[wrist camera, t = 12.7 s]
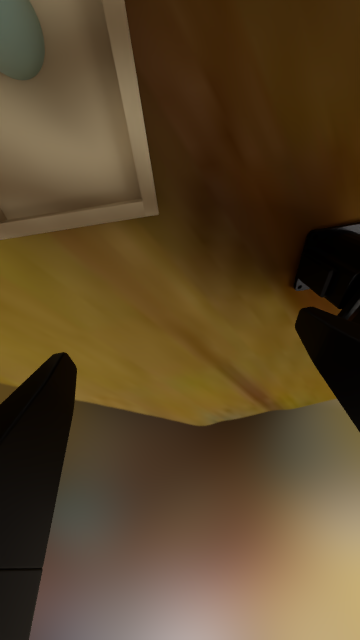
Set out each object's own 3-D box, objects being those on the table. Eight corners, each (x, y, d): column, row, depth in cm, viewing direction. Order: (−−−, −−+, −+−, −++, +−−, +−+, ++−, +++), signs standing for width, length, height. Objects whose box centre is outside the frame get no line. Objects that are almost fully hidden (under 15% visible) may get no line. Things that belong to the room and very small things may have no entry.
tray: (-508, -582, 5) (-778, -888, 3) (27, -584, 5) (-15, -851, 4) (6, 233, 16) (-7, 240, 15) (157, 209, 17) (159, 214, 15)
